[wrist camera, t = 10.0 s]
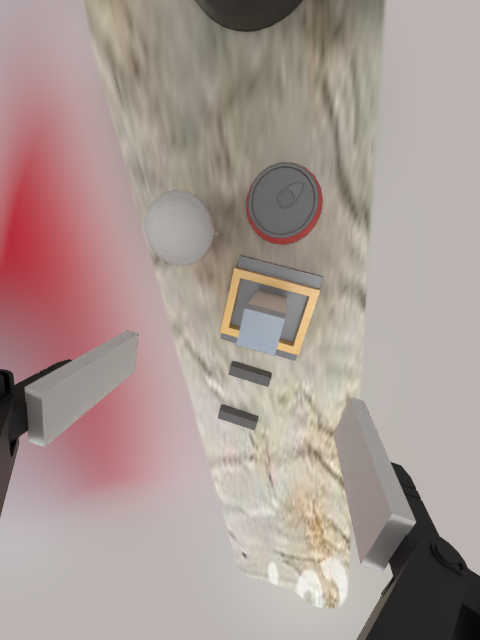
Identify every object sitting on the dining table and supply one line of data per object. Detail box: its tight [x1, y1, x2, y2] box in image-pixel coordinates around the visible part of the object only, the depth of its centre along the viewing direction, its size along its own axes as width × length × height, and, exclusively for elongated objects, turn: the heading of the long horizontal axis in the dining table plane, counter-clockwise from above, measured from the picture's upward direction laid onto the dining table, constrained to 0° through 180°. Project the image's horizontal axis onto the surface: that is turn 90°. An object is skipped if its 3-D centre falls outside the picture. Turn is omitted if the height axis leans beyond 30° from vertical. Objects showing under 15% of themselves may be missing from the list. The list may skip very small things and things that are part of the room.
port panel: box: [220, 256, 323, 361], centre depth 35 cm, size 12×11×2 cm
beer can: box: [246, 163, 323, 244], centre depth 26 cm, size 7×7×12 cm
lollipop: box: [145, 190, 220, 266], centre depth 27 cm, size 6×6×15 cm
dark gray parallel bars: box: [218, 361, 272, 430], centre depth 39 cm, size 10×6×2 cm, turn 167°
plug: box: [236, 290, 287, 356], centre depth 30 cm, size 4×4×10 cm
